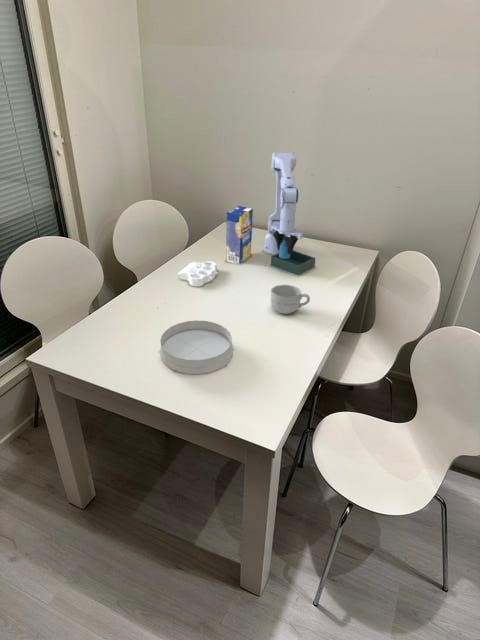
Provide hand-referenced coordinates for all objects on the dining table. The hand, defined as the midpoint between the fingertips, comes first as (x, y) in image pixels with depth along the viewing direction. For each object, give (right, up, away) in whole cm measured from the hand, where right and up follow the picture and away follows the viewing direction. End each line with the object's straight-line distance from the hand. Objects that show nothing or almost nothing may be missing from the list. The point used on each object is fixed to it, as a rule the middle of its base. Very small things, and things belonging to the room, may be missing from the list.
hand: (284, 251), depth 187 cm
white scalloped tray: (-35, -11, +1) cm, 36 cm away
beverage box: (-19, -1, +17) cm, 26 cm away
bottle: (0, -2, +1) cm, 2 cm away
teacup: (-1, -25, -22) cm, 33 cm away
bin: (+4, -5, +11) cm, 13 cm away
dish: (-32, -38, -45) cm, 67 cm away
